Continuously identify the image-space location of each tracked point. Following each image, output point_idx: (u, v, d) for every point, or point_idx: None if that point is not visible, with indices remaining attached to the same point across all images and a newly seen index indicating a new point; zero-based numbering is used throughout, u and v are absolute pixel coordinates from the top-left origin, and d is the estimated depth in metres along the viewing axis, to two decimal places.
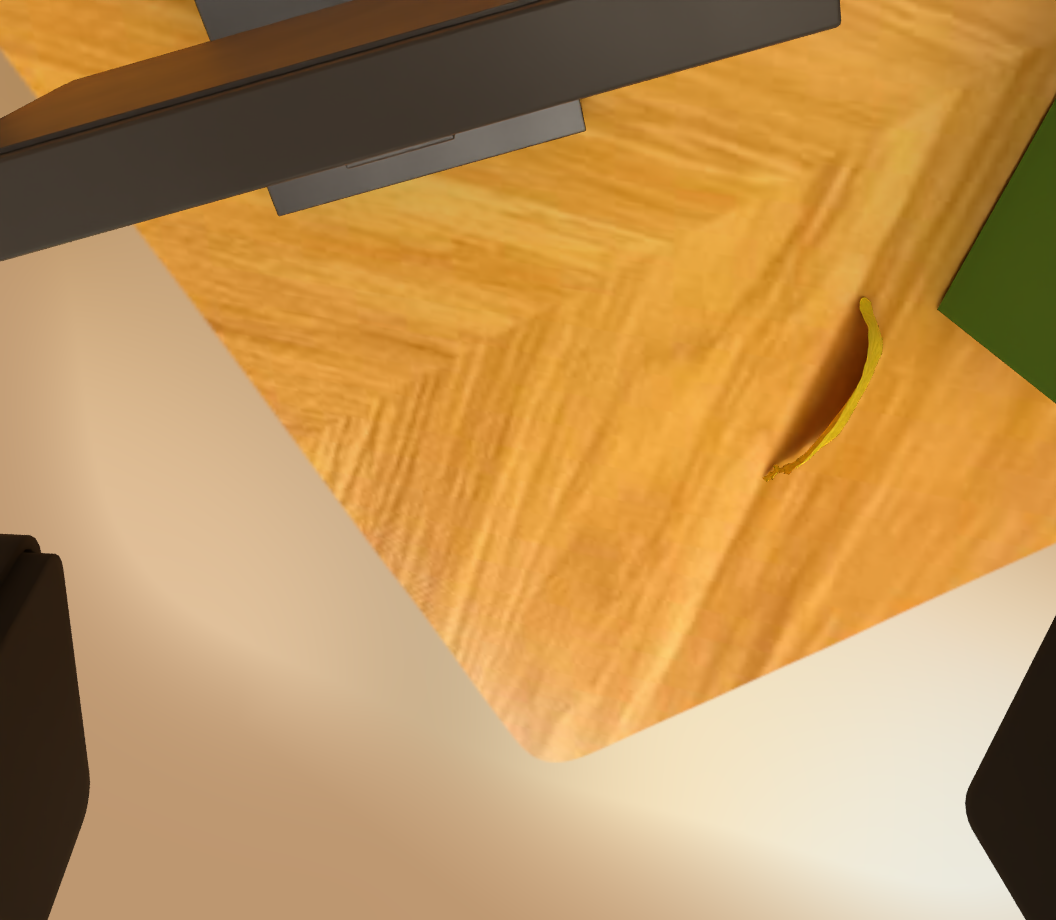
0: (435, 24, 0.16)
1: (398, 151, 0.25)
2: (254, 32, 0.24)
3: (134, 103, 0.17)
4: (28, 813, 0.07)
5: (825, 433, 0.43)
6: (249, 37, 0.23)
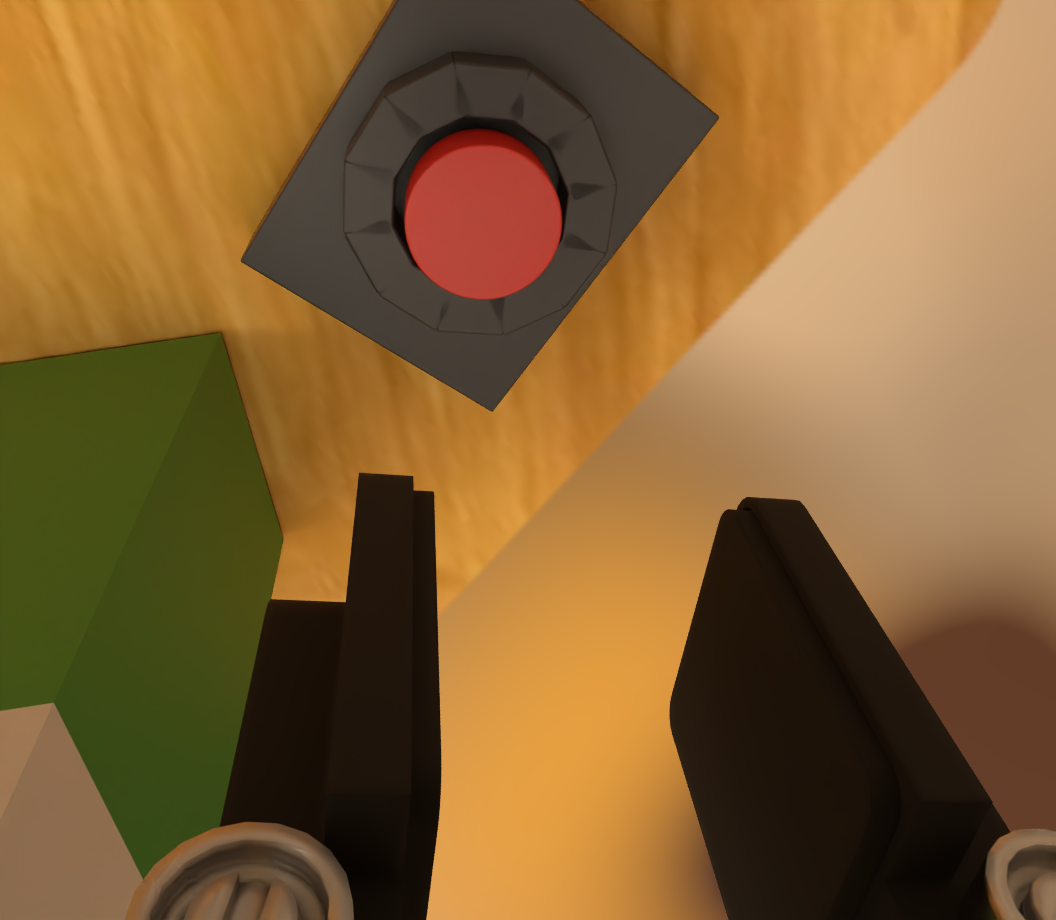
0: None
1: None
2: None
3: None
4: None
5: None
6: None
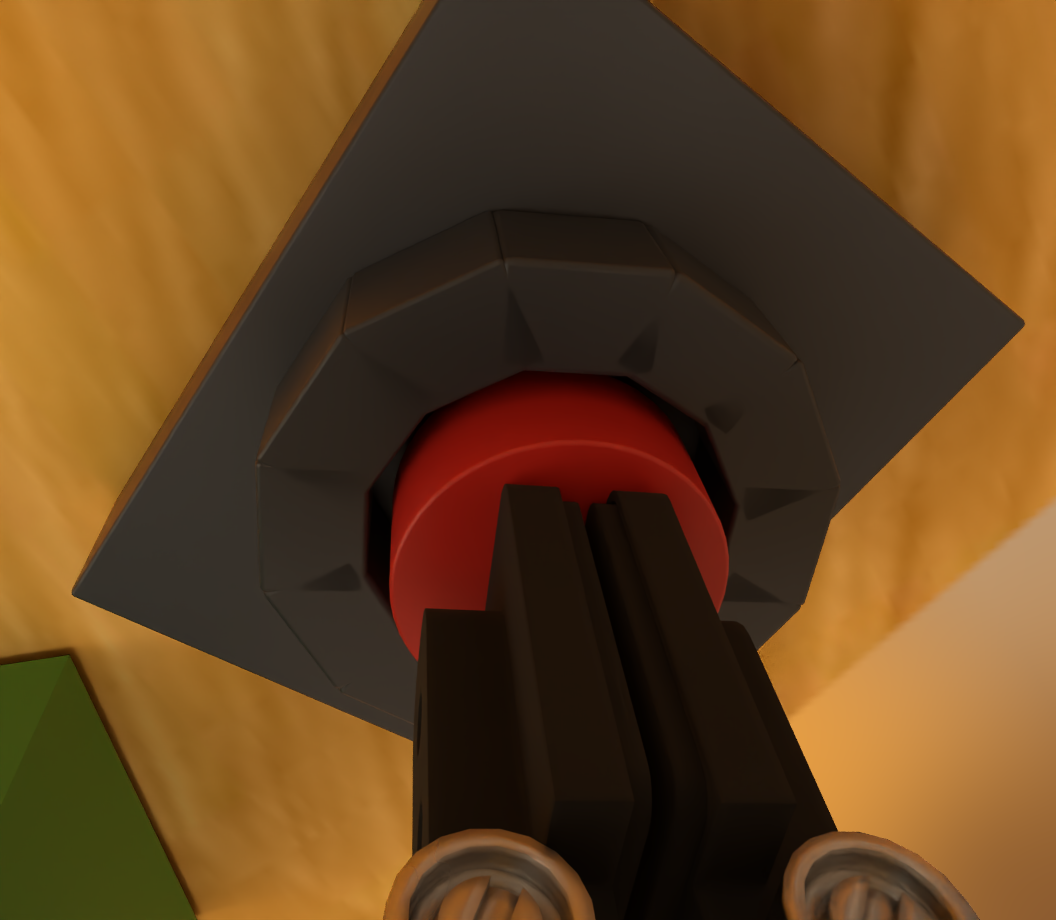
0: None
1: None
2: None
3: None
4: None
5: None
6: None
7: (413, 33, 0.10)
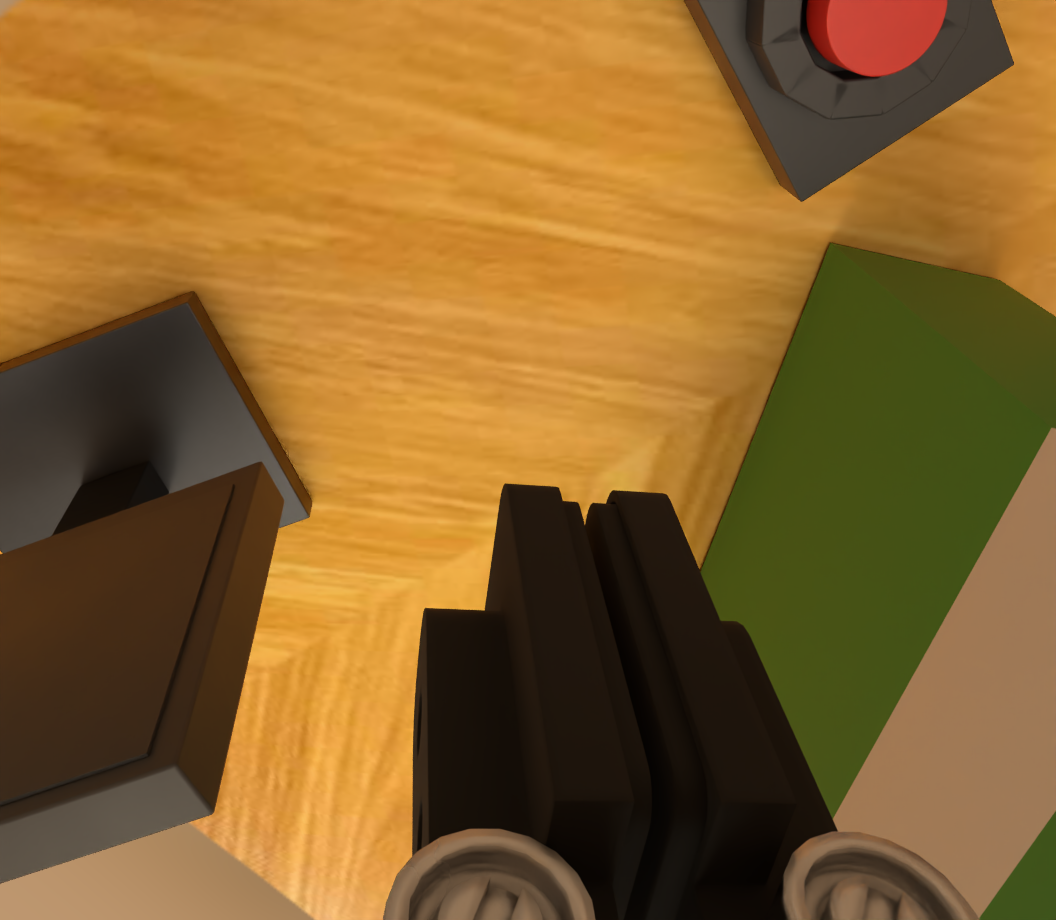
0: None
1: None
2: None
3: None
4: None
5: None
6: None
7: None
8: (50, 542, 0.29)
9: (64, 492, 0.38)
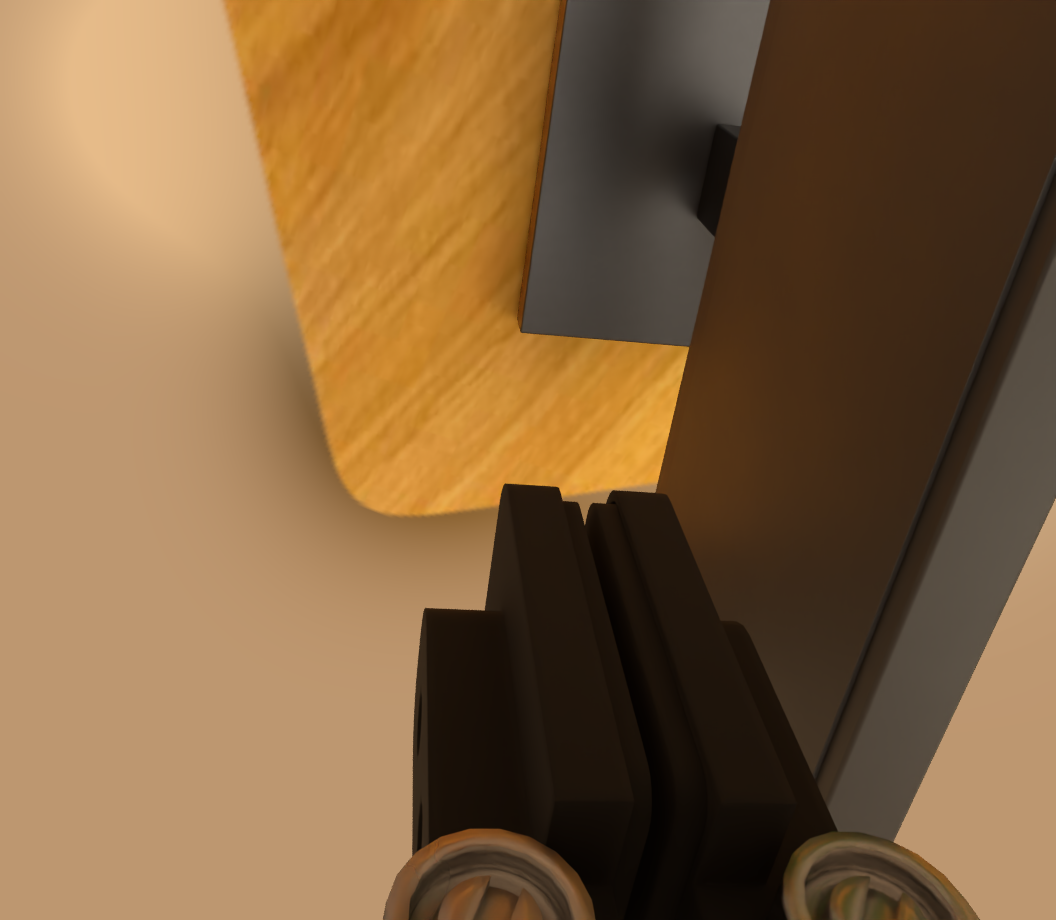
0: (974, 364, 0.13)
1: None
2: (711, 379, 0.23)
3: (830, 638, 0.16)
4: None
5: None
6: (724, 397, 0.22)
7: None
8: (734, 181, 0.23)
9: (693, 239, 0.32)
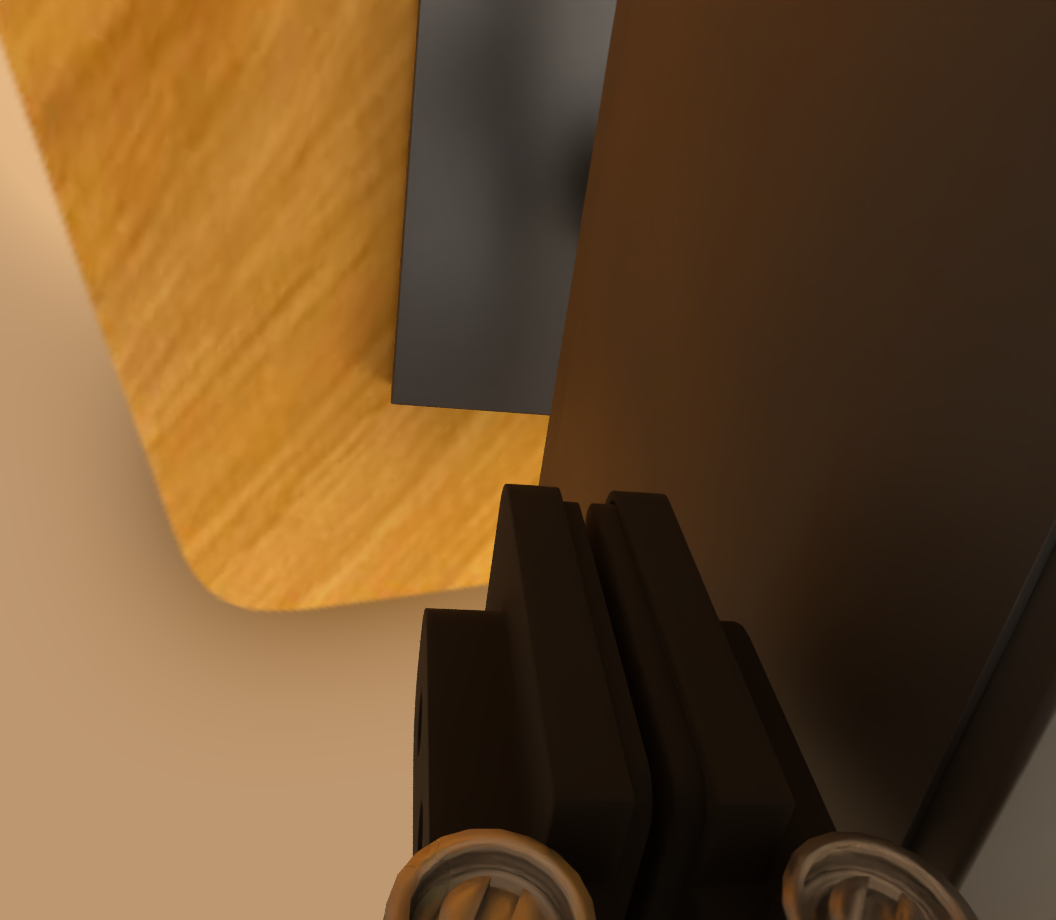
0: (975, 690, 0.07)
1: None
2: None
3: None
4: None
5: None
6: None
7: None
8: (585, 244, 0.16)
9: None
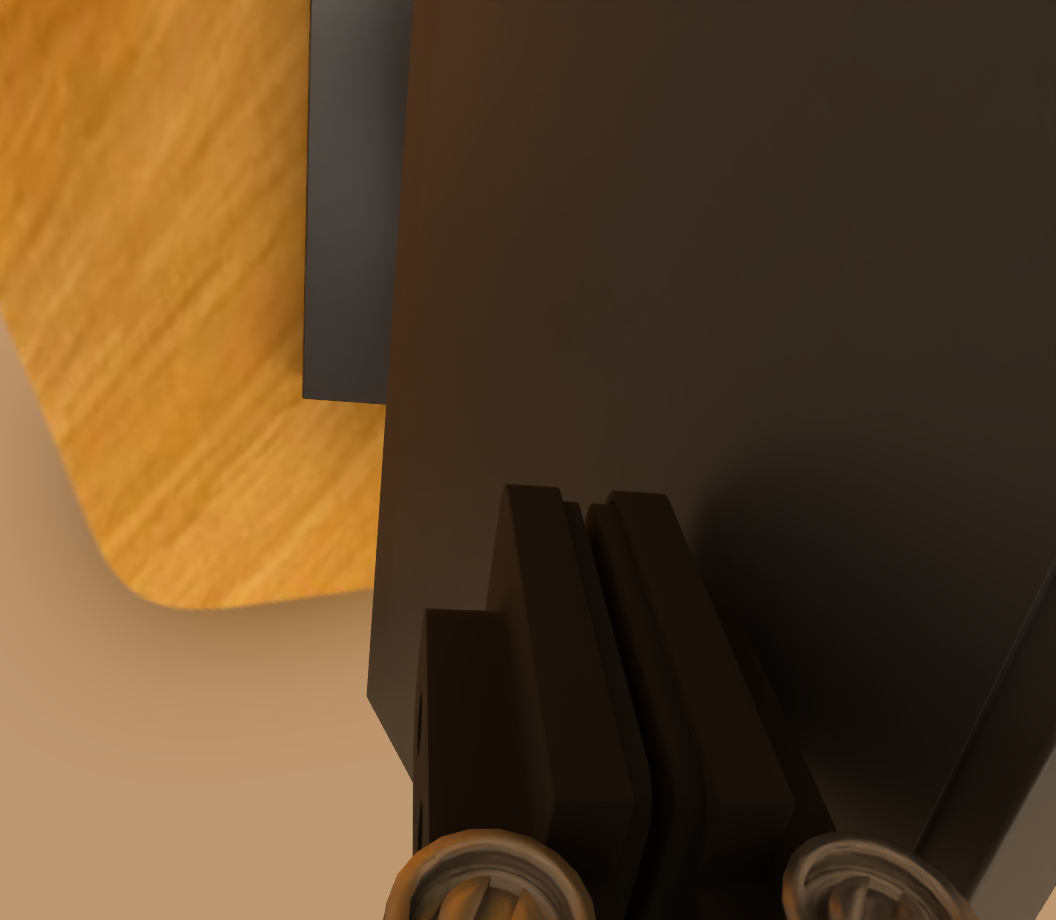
0: (995, 686, 0.07)
1: None
2: (429, 528, 0.16)
3: None
4: None
5: None
6: (457, 563, 0.15)
7: None
8: (408, 240, 0.15)
9: None
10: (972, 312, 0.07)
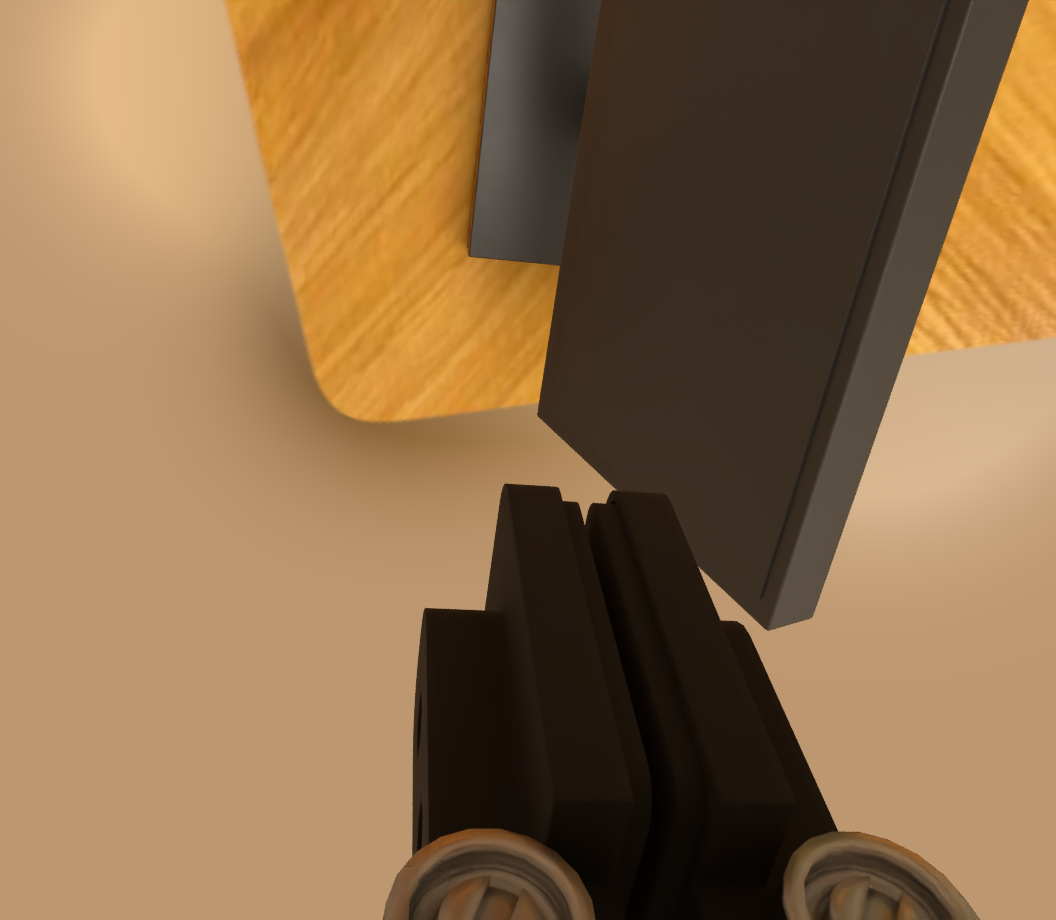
0: (877, 217, 0.19)
1: None
2: (600, 275, 0.28)
3: (777, 435, 0.23)
4: None
5: None
6: (619, 287, 0.28)
7: None
8: (592, 112, 0.28)
9: None
10: (868, 80, 0.19)
